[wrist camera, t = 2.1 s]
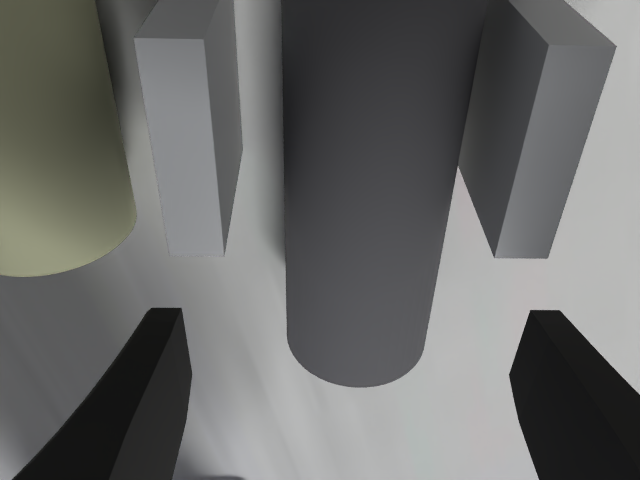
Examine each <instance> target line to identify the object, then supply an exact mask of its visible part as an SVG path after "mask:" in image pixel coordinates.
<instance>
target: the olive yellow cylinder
mask: <svg viewBox="0 0 640 480" xmlns="http://www.w3.org/2000/svg"><path fill="white" fill-rule="evenodd" d="M136 217H137V213H136V206H135V201H134V196H133V191H132V186H131V181H130V176H129V171H128V165H127V160H126V155H125V150H124V145H123V140H122V135H121V130H120V125H119V120H118V115H117V110H116V105H115V99H114V94H113V89H112V84H111V79H110V74H109V69H108V64H107V59H106V54H105V49H104V44H103V39H102V33H101V28H100V23H99V18H98V13H97V8H96V3H95V0H0V275H5V276H13V277H34V276H44V275H51V274H56V273H61V272H65V271H68V270H72V269H75V268H78V267H81V266H83V265H86V264H88V263H91V262H93V261H95V260H97V259H99V258H101V257H102V256H104V255H106V254H108V253H109V252H110V251H112V250H113V249H115V248H116V247H117V246H118V245H120V244H121V243H122V242H123V241H124V240H125V239H126V238H127V236H128V235H129V234H130V232H131V231H132V229H133V227H134V225H135V222H136Z"/></svg>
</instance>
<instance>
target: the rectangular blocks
mask: <svg viewBox="0 0 640 480" xmlns="http://www.w3.org/2000/svg"><path fill="white" fill-rule="evenodd" d="M133 39H134V45H135V51H136V57H137V63H138V69H139V75H140V81H141V87H142V93H143V99H144V105H145V111H146V117H147V123H148V129H149V135H150V141H151V147H152V153H153V160H154V166H155V172H156V178H157V184H158V190H159V196H160V202H161V208H162V214H163V220H164V226H165V232H166V238H167V244H168V250H169V256H224V255H225V249H226V243H227V238H228V232H229V226H230V220H231V214H232V209H233V203H234V197H235V191H236V185H237V180H238V174H239V168H240V162H241V156H242V151H243V147H242V131H241V115H240V99H239V83H238V67H237V51H236V34H235V18H234V2H233V0H158V2H157V3H156V5H155V6H154V8H153V9H152V11H151V12H150V14H149V15H148V17H147V18H146V20H145V21H144V23H143V24H142V26H141V27H140V29H139V30H138V32H137V33H136V35H135V36H134V38H133ZM616 47H617V46H616V45H615V44H614V43H612V42H611V41H610V40H609V39H608V38H607V37H606V36H604V35H603V34H602V33H601V32H600V31H599V30H597V29H596V28H595V27H594V26H593V25H592V24H591V23H589V22H588V21H587V20H586V19H585V18H584V17H582V16H581V15H580V14H579V13H578V12H577V11H576V10H574V9H573V8H572V7H571V6H570V5H569V4H567V3H566V2H565V1H564V0H488V5H487V10H486V15H485V21H484V26H483V32H482V37H481V42H480V48H479V53H478V59H477V64H476V69H475V75H474V80H473V86H472V91H471V96H470V102H469V107H468V113H467V118H466V123H465V129H464V134H463V140H462V145H461V150H460V156H459V161H458V166H459V169H460V171H461V174H462V177H463V179H464V182H465V184H466V187H467V189H468V192H469V194H470V197H471V200H472V202H473V205H474V207H475V210H476V212H477V215H478V217H479V220H480V223H481V225H482V228H483V230H484V233H485V235H486V238H487V240H488V243H489V246H490V248H491V251H492V253H493V256H494V258H545V259H548V256H549V253H550V250H551V247H552V244H553V240H554V237H555V234H556V231H557V228H558V225H559V222H560V219H561V216H562V213H563V210H564V207H565V204H566V200H567V197H568V194H569V191H570V188H571V185H572V182H573V179H574V176H575V173H576V170H577V167H578V164H579V161H580V157H581V154H582V151H583V148H584V145H585V142H586V139H587V136H588V133H589V130H590V127H591V124H592V121H593V117H594V114H595V111H596V108H597V105H598V102H599V99H600V96H601V93H602V90H603V87H604V84H605V81H606V78H607V74H608V71H609V68H610V65H611V62H612V59H613V56H614V53H615V50H616Z"/></svg>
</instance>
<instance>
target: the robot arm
mask: <svg viewBox="0 0 640 480" xmlns="http://www.w3.org/2000/svg"><path fill="white" fill-rule="evenodd" d="M509 377H510V382H511V387H512V392H513V397H514V402H515V406H516V411H517V415H518V420H519V423H520V426H521V429H522V432H523V435H524V438H525V441H526V444H527V446H528V449H529V452H530V455H531V458H532V461H533V464H534V467H535V469H536V472H537V475H538V478H539V480H640V395H639V394H638V393H637V392H636V391H635V390H634V389H633V388H632V387H631V386H630V385H629V384H628V383H627V381H626V380H625V379H624V378H623V377H622V376H621V375H620V374H619V373H618V372H617V371H616V370H615V369H614V368H613V367H612V366H611V365H610V364H609V363H608V362H607V361H606V360H605V359H604V358H603V356H602V355H601V354H600V353H599V352H598V351H597V350H596V349H595V348H594V347H593V346H592V345H591V344H590V343H589V341H588V340H587V339H586V338H585V337H584V336H583V335H582V334H581V333H580V332H579V331H578V330H577V328H576V327H575V326H574V325H573V324H572V323H571V322H570V321H569V320H568V319H567V318H566V317H565V316H564V315H563V313H562V312H561V311H560V310H530V313H529V316H528V319H527V322H526V325H525V328H524V331H523V334H522V337H521V340H520V343H519V346H518V349H517V352H516V355H515V359H514V362H513V365H512V368H511V371H510V374H509ZM191 380H192V370H191V364H190V357H189V351H188V345H187V339H186V333H185V327H184V321H183V314H182V308H151V309H150V310H148V311H147V312H146V314H145V316H144V317H143V319H142V320H141V322H140V323H139V325H138V327H137V328H136V330H135V331H134V333H133V334H132V336H131V337H130V339H129V340H128V342H127V343H126V344H125V346H124V347H123V349H122V350H121V352H120V353H119V354H118V356H117V357H116V359H115V360H114V362H113V363H112V364H111V366H110V367H109V368H108V370H107V371H106V372H105V374H104V375H103V376H102V378H101V379H100V380H99V382H98V383H97V384H96V386H95V387H94V388H93V389H92V391H91V392H90V393H89V395H88V396H87V397H86V398H85V400H84V401H83V402H82V403H81V404H80V406H79V407H78V408H77V409H76V410H75V412H74V413H73V414H72V415H71V416H70V418H69V419H68V420H67V421H66V422H65V424H64V425H63V426H62V427H61V428H60V429H59V431H58V432H57V433H56V434H55V435H54V436H53V437H52V438H51V439H50V441H49V442H48V443H47V444H46V445H45V446H44V447H43V448H42V449H41V450H40V451H39V453H38V454H37V455H36V456H35V457H34V458H33V459H32V460H31V461H30V462H29V463H28V464H27V465H26V466H25V467H24V468H23V469H22V470H21V471H20V472H19V473H18V474H17V475H16V476H15V477H14V478H13V479H12V480H172V476H173V472H174V468H175V464H176V460H177V456H178V452H179V448H180V444H181V440H182V436H183V432H184V428H185V423H186V418H187V411H188V404H189V396H190V388H191Z"/></svg>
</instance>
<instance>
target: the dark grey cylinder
mask: <svg viewBox="0 0 640 480" xmlns="http://www.w3.org/2000/svg"><path fill="white" fill-rule="evenodd" d="M281 4H282V66H283V127H284V188H285V250H286V311H287V340H288V344H289V347H290V350H291V352H292V354H293V356H294V357H295V358H296V360H297V361H298V362H299V363H300V364H301V365H302V366H303V367H304V368H305V369H306V370H308V371H309V372H310V373H312V374H313V375H315V376H317V377H318V378H321V379H323V380H325V381H327V382H330V383H334V384H337V385H342V386H347V387H374V386H379V385H383V384H387V383H390V382H392V381H395V380H397V379H399V378H401V377H402V376H404V375H405V374H407V373H408V372H409V371H410V370H411V369H412V368H413V367H414V366H415V365H416V364H417V362H418V361H419V359H420V357H421V356H422V353H423V350H424V345H425V339H426V334H427V329H428V323H429V318H430V312H431V307H432V302H433V296H434V291H435V285H436V280H437V275H438V269H439V264H440V258H441V253H442V248H443V242H444V237H445V231H446V226H447V221H448V215H449V210H450V204H451V199H452V194H453V188H454V183H455V177H456V172H457V167H458V161H459V156H460V150H461V145H462V140H463V134H464V129H465V123H466V118H467V113H468V107H469V102H470V96H471V91H472V86H473V80H474V75H475V69H476V64H477V59H478V53H479V48H480V42H481V37H482V32H483V26H484V21H485V15H486V10H487V5H488V0H281Z"/></svg>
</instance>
